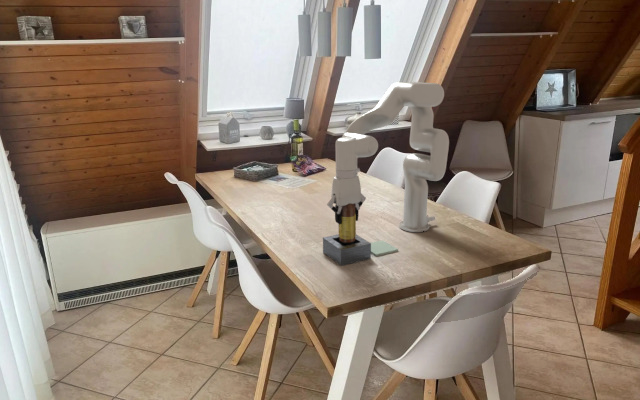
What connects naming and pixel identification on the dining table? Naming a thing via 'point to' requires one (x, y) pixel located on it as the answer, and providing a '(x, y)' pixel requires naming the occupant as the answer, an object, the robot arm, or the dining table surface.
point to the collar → (346, 250)
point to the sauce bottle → (348, 224)
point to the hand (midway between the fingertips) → (346, 220)
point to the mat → (382, 248)
